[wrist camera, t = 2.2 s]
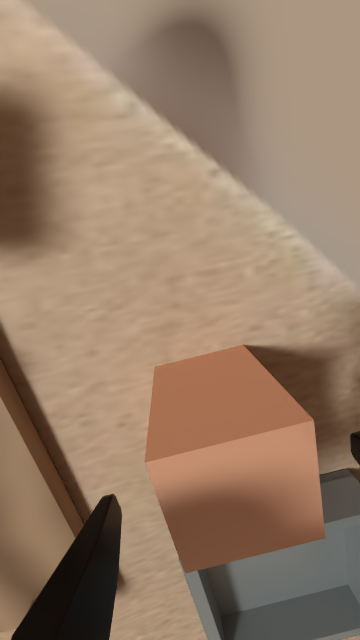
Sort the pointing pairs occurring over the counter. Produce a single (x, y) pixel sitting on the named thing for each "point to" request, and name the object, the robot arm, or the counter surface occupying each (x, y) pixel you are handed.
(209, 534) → the block
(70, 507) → the peg rack
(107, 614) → the robot arm
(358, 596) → the tray
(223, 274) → the counter surface
